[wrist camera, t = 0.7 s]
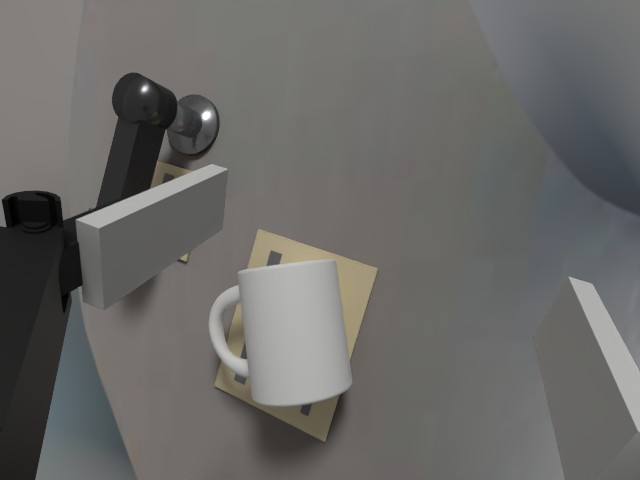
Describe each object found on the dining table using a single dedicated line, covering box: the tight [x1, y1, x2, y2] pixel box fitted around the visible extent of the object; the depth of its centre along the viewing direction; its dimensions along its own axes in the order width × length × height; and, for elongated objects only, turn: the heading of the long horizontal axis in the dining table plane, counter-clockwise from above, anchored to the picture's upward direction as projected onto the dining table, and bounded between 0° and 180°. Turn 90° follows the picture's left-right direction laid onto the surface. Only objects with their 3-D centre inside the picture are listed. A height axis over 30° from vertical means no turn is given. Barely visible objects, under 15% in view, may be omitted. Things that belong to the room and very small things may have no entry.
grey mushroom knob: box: [167, 95, 219, 155], centre depth 40 cm, size 6×6×5 cm
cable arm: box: [89, 73, 178, 210], centre depth 36 cm, size 14×4×4 cm, turn 162°
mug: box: [209, 259, 352, 407], centre depth 33 cm, size 12×10×8 cm
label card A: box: [150, 161, 193, 262], centre depth 42 cm, size 9×7×1 cm
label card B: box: [214, 229, 378, 442], centre depth 37 cm, size 16×12×1 cm
